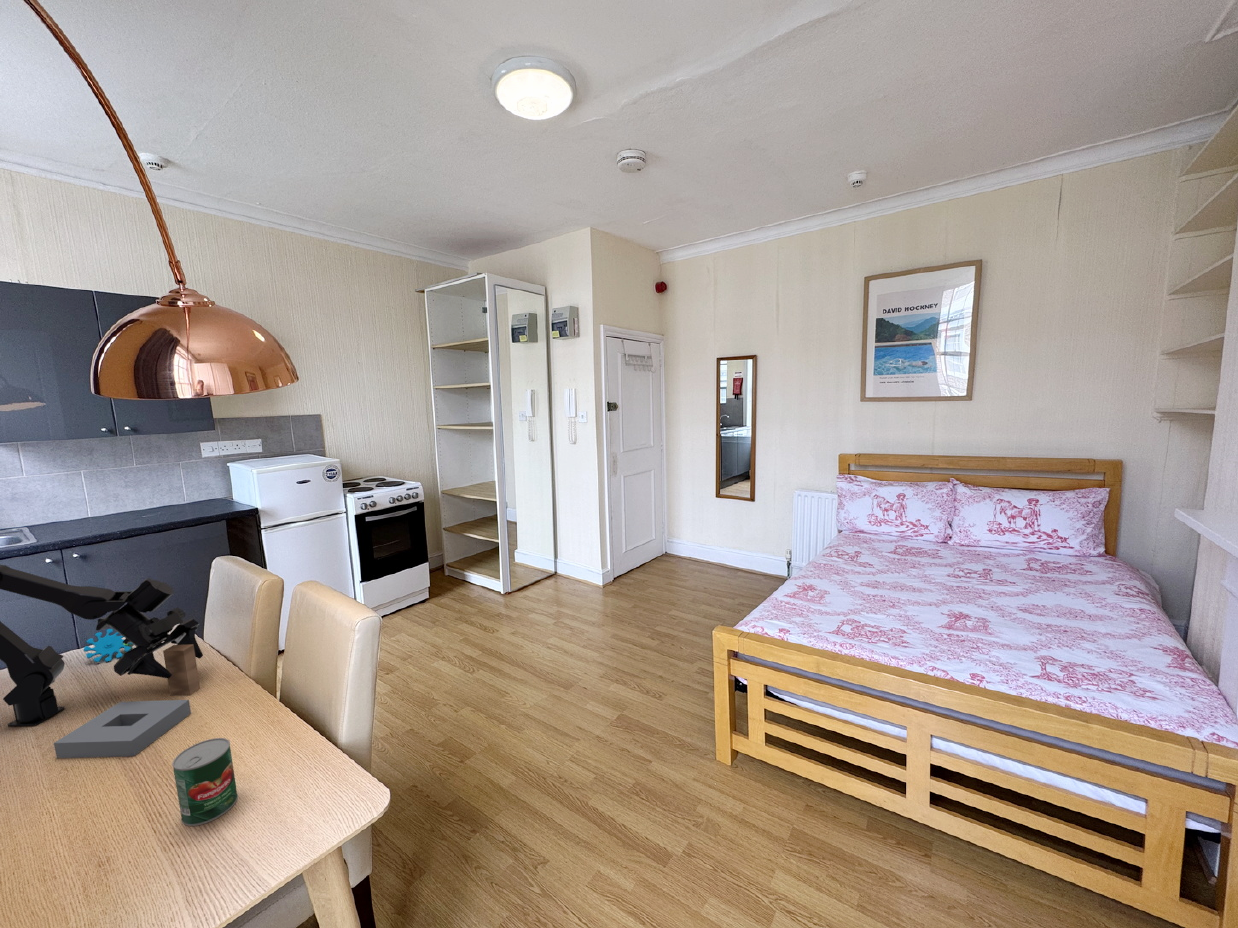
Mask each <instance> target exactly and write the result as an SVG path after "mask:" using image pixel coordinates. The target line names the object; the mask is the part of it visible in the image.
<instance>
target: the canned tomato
mask: <svg viewBox="0 0 1238 928" xmlns="http://www.w3.org/2000/svg"><path fill="white" fill-rule="evenodd" d="M171 766H172V768H173V774H174V775H173V776H174V780H175V789H176V793H177V799H178V805H179V808H180V809H179V810H180V811H179V812H180V816H181V822H182V824H183V825H184V826H188V827H199V826H202V825H205V824H208V823H210V822H212V821H215V820H216V819H218V818H220V817H222V816H223V815H225V814H226V813H227V812H229V811H230V809H232V808H233V807H234V805H235V804H236V803H237V801H238V797H239V795H238V791H237V790H238V789H237V783H236V778H235V777H236V776H235V769H234V763H233V756H232V750H231V742H230V740H229V739H227V738H225V737H217V738H216V737H214V738H209V739H206V740H202V741H200V742H197V743H195V744H193V745H191V746H188V748H187V747H186V748H185V749H184V750H183V751H181V752H180V753H179V754H178V755H176V757H175V758H174V759H173V761H172V765H171Z"/></svg>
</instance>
